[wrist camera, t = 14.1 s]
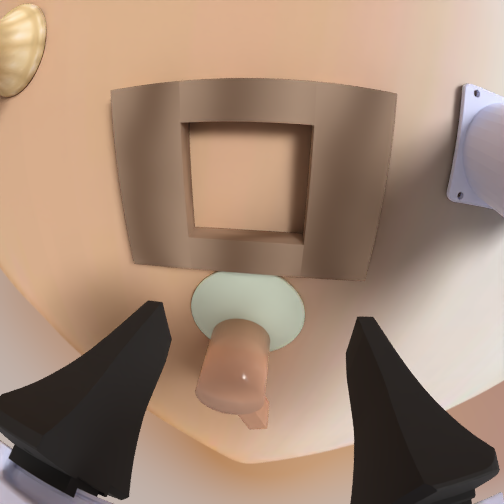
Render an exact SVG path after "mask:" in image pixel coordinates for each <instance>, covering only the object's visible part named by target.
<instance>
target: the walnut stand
mask: <svg viewBox="0 0 504 504" xmlns="http://www.w3.org/2000/svg"><path fill="white" fill-rule="evenodd" d="M396 102H397V94H396V93H391V92H386V91H381V90H375V89H369V88H363V87H357V86H350V85H343V84H335V83H326V82H316V81H305V80H290V79H268V78H224V79H201V80H187V81H175V82H165V83H156V84H149V85H141V86H134V87H128V88H122V89H116V90H111V106H112V120H113V132H114V143H115V152H116V161H117V169H118V176H119V183H120V190H121V197H122V203H123V209H124V215H125V221H126V226H127V231H128V237H129V242H130V247H131V251H132V256H133V261H134V264H142V265H153V266H164V267H175V268H186V269H198V270H210V271H222V272H235V273H247V274H261V275H275V276H289V277H304V278H319V279H335V280H352V281H365V279H366V275H367V271H368V267H369V263H370V259H371V255H372V251H373V246H374V242H375V238H376V233H377V229H378V224H379V219H380V214H381V209H382V204H383V198H384V193H385V187H386V181H387V175H388V169H389V162H390V155H391V148H392V140H393V132H394V123H395V113H396ZM224 121H232V122H272V123H291V124H305V125H312V133H311V148H310V162H309V175H308V187H307V198H306V209H305V220H304V230H303V234H301V233H286V232H272V231H256V230H240V229H223V228H205V227H195V223H194V210H193V196H192V180H191V162H190V141H189V122H224Z"/></svg>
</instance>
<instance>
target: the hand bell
mask: <svg viewBox="0 0 504 504" xmlns="http://www.w3.org/2000/svg"><path fill="white" fill-rule="evenodd" d="M45 38H46V21H45V17H44V15H43V13H42V11H41V10H40V8H39V7H38V6H36V5H34V4H23V5H20V6H18V7H16V8H14V9H13V10H11V11H10V12H9V13H7V14H6V15H5V16H4V17H3V18H2V19H1V20H0V95H1V96H4V97H11V96H14V95H16V94H18V93H19V92H20V91H22V90H23V89H24V88H25V87H26V86H27V85H28V83H29V82H30V80H31V79H32V77H33V76H34V74H35V72H36V70H37V68H38V66H39V63H40V61H41V58H42V55H43V51H44V47H45Z"/></svg>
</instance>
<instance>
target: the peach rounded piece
mask: <svg viewBox="0 0 504 504" xmlns="http://www.w3.org/2000/svg"><path fill="white" fill-rule="evenodd" d="M269 351H270V337H269V334H268V333H267V331H266V330H265V329H264V328H263V327H262V326H260V325H258V324H257V323H255V322H252V321H249V320H245V319H228V320H224V321H222V322H220V323H219V324H217V325H216V326H215V327H214V329H213V331H212V334H211V338H210V341H209V345H208V348H207V352H206V355H205V359H204V362H203V366H202V369H201V373H200V376H199V380H198V383H197V387H196V391H195V393H196V396H197V398H198V399H199V400H200V401H201V402H202V403H203V404H204V405H206V406H207V407H209V408H211V409H213V410H216V411H219V412H222V413H227V414H235V415H238V416H239V417H240V418H241V419H242V421H243V422H244V423H245V424H246V426H247V427H248V428H249V429H267V422H268V412H269V402H268V400H267V398H266V396H265V391H266V381H267V371H268V361H269Z"/></svg>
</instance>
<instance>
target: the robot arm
mask: <svg viewBox="0 0 504 504" xmlns="http://www.w3.org/2000/svg"><path fill="white" fill-rule="evenodd" d="M474 90H476V92H477V95H476V97H475V95H474ZM459 192H461V195H460V196H459V197H457V195H458V193H459ZM447 197H448V199H449V200H451V201H453V202H459V203H464V204H470V205H475V206H480V207H485V208H490V209H494V210H495V211H497V212H498V213H499V214H500V215H501V216H502V217H504V97H501V96H499V95H497V94H495V93H492V92H490V91H488V90H485V89H483V88H480V87H478V86H475V85H473V84H468V83H466V84H464V85H463V88H462V99H461V109H460V118H459V126H458V134H457V141H456V147H455V153H454V159H453V164H452V169H451V174H450V179H449V184H448V188H447ZM171 340H172V339H171V335H170V331H169V327H168V323H167V319H166V315H165V311H164V307H163V303H162V302H156V301H147V302H146V303H145V304H143V305H142V306H141V307H140V308H139V309H138V310H137V311H136V312H134V313H133V314H132V315H131V316H130V317H129V318H128V319H127V320H125V321H124V322H123V323H122V324H121V325H120V326H119V327H117V328H116V329H115V330H114V331H113V332H112V333H111V334H109V335H108V336H107V337H106V338H104V339H103V340H102V341H101V342H99V343H98V344H97V345H96V346H94V347H93V348H92V349H91V350H89V351H88V352H86V353H85V354H84V355H82V356H81V357H79V358H78V359H76V360H75V361H73V362H72V363H70V364H69V365H67V366H65V367H63V368H62V369H60V370H58V371H56V372H55V373H53V374H51V375H49V376H47V377H45V378H43V379H41V380H39V381H37V382H35V383H32V384H30V385H28V386H25V387H23V388H20V389H17V390H14V391H11V392H8V393H5V394H2V395H1V396H0V432H1V433H2V434H3V435H4V436H5V437H7V438H8V439H9V440H10V441H11V442H12V443H14V444H15V445H14V447H13V449H12V448H10V447H9V446H8V445H6V444H5V443H3V442H2V441H1V440H0V504H113V503H110V502H108V501H105V500H103V499H100V498H98V497H97V495H98V494H99V495H102V496H104V497H107V495H109V496H112V497H114V498H118V499H120V500H123V499H126V498H128V497H129V490H130V480H131V473H132V466H133V460H134V455H135V450H136V446H137V441H138V437H139V432H140V429H141V424H142V421H143V417H144V414H145V411H146V408H147V406H148V403H149V401H150V398H151V396H152V393H153V391H154V389H155V386H156V384H157V381H158V379H159V377H160V374H161V372H162V369H163V367H164V364H165V362H166V358H167V355H168V351H169V347H170V344H171ZM346 371H347V383H348V390H349V397H350V404H351V411H352V419H353V426H354V472H353V485H352V496H351V503H350V504H472V502H471V499H472V498H474V497H475V488H477V487H479V486H480V485H482V484H484V483H485V482H487V481H489V480H490V479H492V478H493V477H494V476H496V475H497V474H498V472H499V470H500V469H499V465H498V461H497V456H496V452H495V449H494V448H493V447H491V446H490V445H488V444H487V443H485V442H484V441H482V440H481V439H479V438H477V437H476V436H475V435H473V434H472V433H471V432H469V431H468V430H467V429H465V428H464V427H463V426H462V425H460V424H459V423H458V422H457V421H456V420H455V419H454V418H453V417H451V416H450V415H449V414H448V413H447V412H446V411H445V410H444V409H443V408H442V407H441V406H440V405H439V404H438V403H437V402H436V401H435V400H434V399H433V398H432V397H431V396H430V394H429V393H428V392H427V391H426V390H425V389H424V388H423V387H422V385H421V384H420V383H419V382H418V380H417V379H416V378H415V377H414V375H413V374H412V373H411V371H410V370H409V369H408V367H407V366H406V365H405V363H404V362H403V360H402V359H401V358H400V356H399V355H398V353H397V352H396V350H395V349H394V348H393V346H392V345H391V343H390V342H389V340H388V339H387V337H386V336H385V334H384V332H383V331H382V329H381V328H380V326H379V325H378V323H377V322H376V320H375V319H374V318H373V317H357V320H356V323H355V326H354V330H353V333H352V336H351V339H350V342H349V345H348V348H347V352H346ZM475 504H504V499H503V493H501V492H500V493H498V494H496V495H494V496H491V497H489V498H487V499H484V500H482V501H480V502H477V503H475Z"/></svg>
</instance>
